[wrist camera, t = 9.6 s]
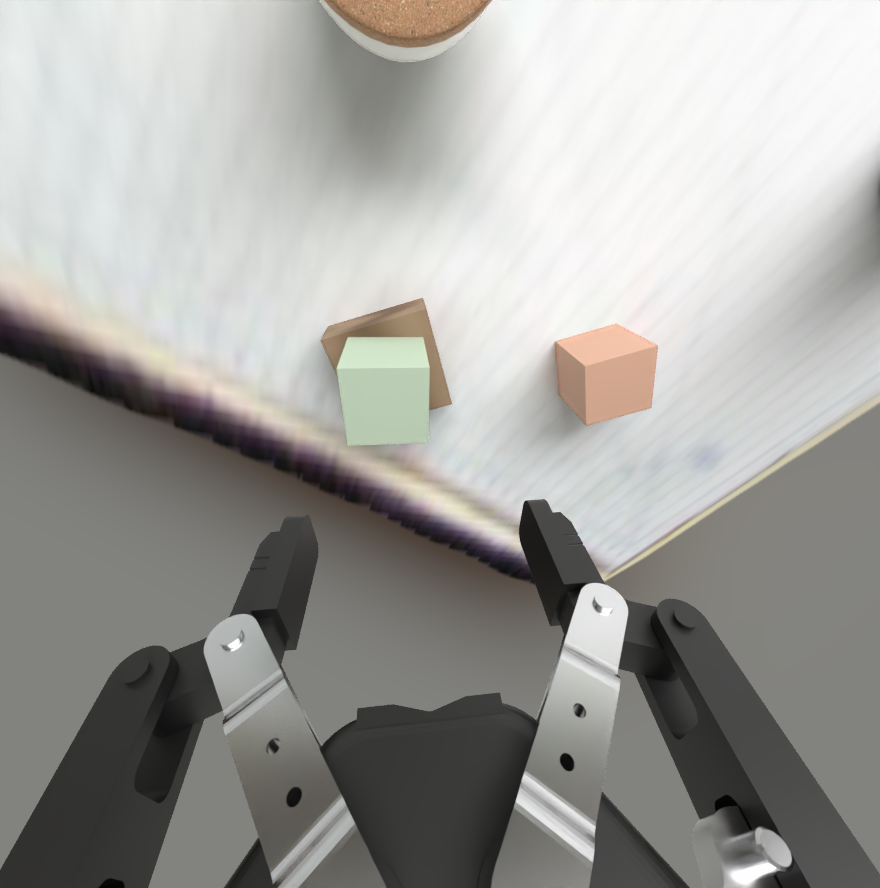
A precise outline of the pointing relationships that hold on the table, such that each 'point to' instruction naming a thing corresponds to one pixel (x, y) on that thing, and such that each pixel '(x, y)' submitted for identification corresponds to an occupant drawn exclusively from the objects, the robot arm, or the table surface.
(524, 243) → the table surface
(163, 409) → the table surface
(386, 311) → the walnut base
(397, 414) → the sage block
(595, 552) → the table surface
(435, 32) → the lidded jar
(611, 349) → the terracotta block
